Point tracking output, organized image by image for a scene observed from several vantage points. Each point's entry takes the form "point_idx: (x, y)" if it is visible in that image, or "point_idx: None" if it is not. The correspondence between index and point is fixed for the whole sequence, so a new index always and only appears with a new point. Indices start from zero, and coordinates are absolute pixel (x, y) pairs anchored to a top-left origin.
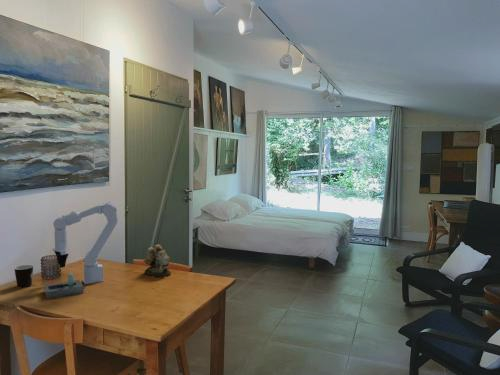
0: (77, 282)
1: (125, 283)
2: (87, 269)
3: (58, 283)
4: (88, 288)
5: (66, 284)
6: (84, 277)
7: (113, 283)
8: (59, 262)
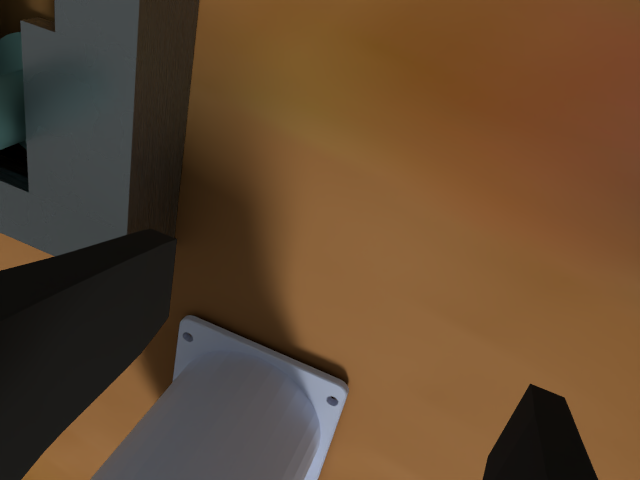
0: (27, 213)
1: (34, 476)
2: (101, 474)
3: (108, 8)
4: (52, 256)
5: (26, 81)
6: (226, 388)
7: (77, 443)
8: (13, 268)
